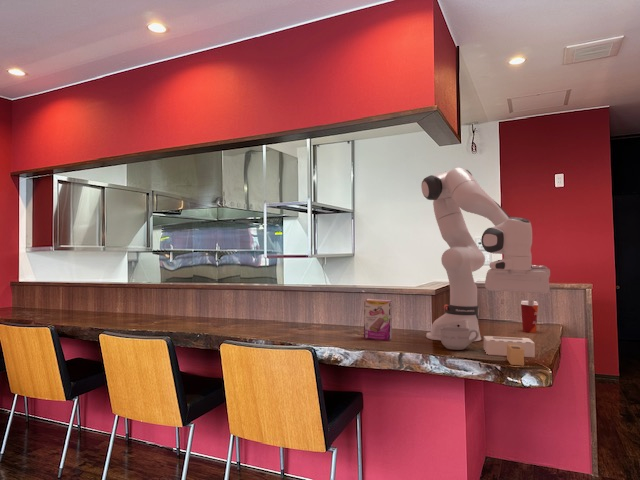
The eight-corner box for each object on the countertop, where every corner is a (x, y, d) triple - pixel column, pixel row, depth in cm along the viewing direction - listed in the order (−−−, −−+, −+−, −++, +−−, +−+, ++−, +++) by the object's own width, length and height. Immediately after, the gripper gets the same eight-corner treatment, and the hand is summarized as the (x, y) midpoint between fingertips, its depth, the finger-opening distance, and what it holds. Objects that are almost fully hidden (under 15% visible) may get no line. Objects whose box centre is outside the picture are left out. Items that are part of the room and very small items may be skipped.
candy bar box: (363, 339, 187) (363, 299, 188) (366, 337, 192) (366, 298, 193) (390, 341, 184) (390, 301, 184) (392, 338, 189) (392, 299, 189)
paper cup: (540, 333, 204) (540, 302, 204) (522, 332, 205) (522, 302, 205) (535, 330, 211) (535, 300, 212) (518, 329, 213) (518, 300, 213)
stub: (510, 364, 147) (510, 348, 147) (506, 358, 155) (506, 343, 155) (524, 365, 146) (524, 349, 146) (519, 359, 154) (519, 344, 154)
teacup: (438, 350, 168) (438, 328, 168) (441, 344, 178) (441, 324, 178) (478, 353, 163) (478, 331, 163) (479, 347, 173) (479, 326, 173)
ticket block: (486, 354, 162) (486, 340, 162) (483, 349, 170) (483, 335, 171) (534, 357, 158) (534, 342, 158) (529, 351, 167) (529, 337, 167)
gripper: (548, 265, 154) (546, 305, 154) (485, 262, 159) (483, 301, 159) (552, 266, 148) (551, 308, 148) (487, 263, 153) (485, 304, 153)
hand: (515, 304), depth 154 cm, fingers open, 8 cm apart
